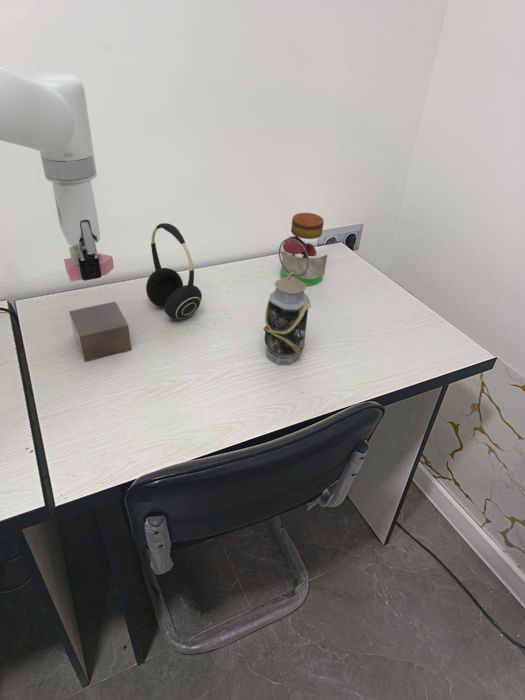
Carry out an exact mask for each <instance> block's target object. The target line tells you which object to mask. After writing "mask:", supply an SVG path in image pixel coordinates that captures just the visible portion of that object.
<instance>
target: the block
mask: <svg viewBox="0 0 525 700" xmlns="http://www.w3.org/2000/svg"><path fill="white" fill-rule="evenodd" d="M68 313H69V318H70V323H71V327H72V331H73V336H74V338H75V342H76V343H77V346H78V349H79V351H80V354H81V356H82V359H83V361H84V363H86V362H90V361H94V360H98V359H102V358H105V357H111V356H113V355H117V354H118V355H119V354H122V353H126V352H129V351H132V342H131V336H130V326H129V324H128V322H127V320H126V318H125V317H124V315H123V313H122V310H121V309H120V307H119V305H118V303H117V301H111V302H106V303H102V304H98V305H97V304H96V305H93V306H87V307H83V308H78V309H73V310H69V311H68Z"/></svg>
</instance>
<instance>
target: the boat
mask: <svg viewBox="0 0 525 700" xmlns="http://www.w3.org/2000/svg"><path fill="white" fill-rule="evenodd" d="M83 249H85V246H82V251H83ZM68 251H69V256H70V257H69V258H68V257H67V258H64V259H63V261H64V266H65V271H66V274H67V276H68V279H69V280H70V282H75V281H81V280H82V281H83V279H82V276H81V271H80V266H79V261H78V259H79V258H80V256H79V252H78V247H77V246H73V247H72V246H69V247H68ZM97 255H98V257H99V263H100V269H101V277H102V276H107V275H108V274H109V273H110V272H111V271H112V270H114V268H115V265H114V259H113V255H109V254H103V253H98V252H97Z"/></svg>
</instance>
